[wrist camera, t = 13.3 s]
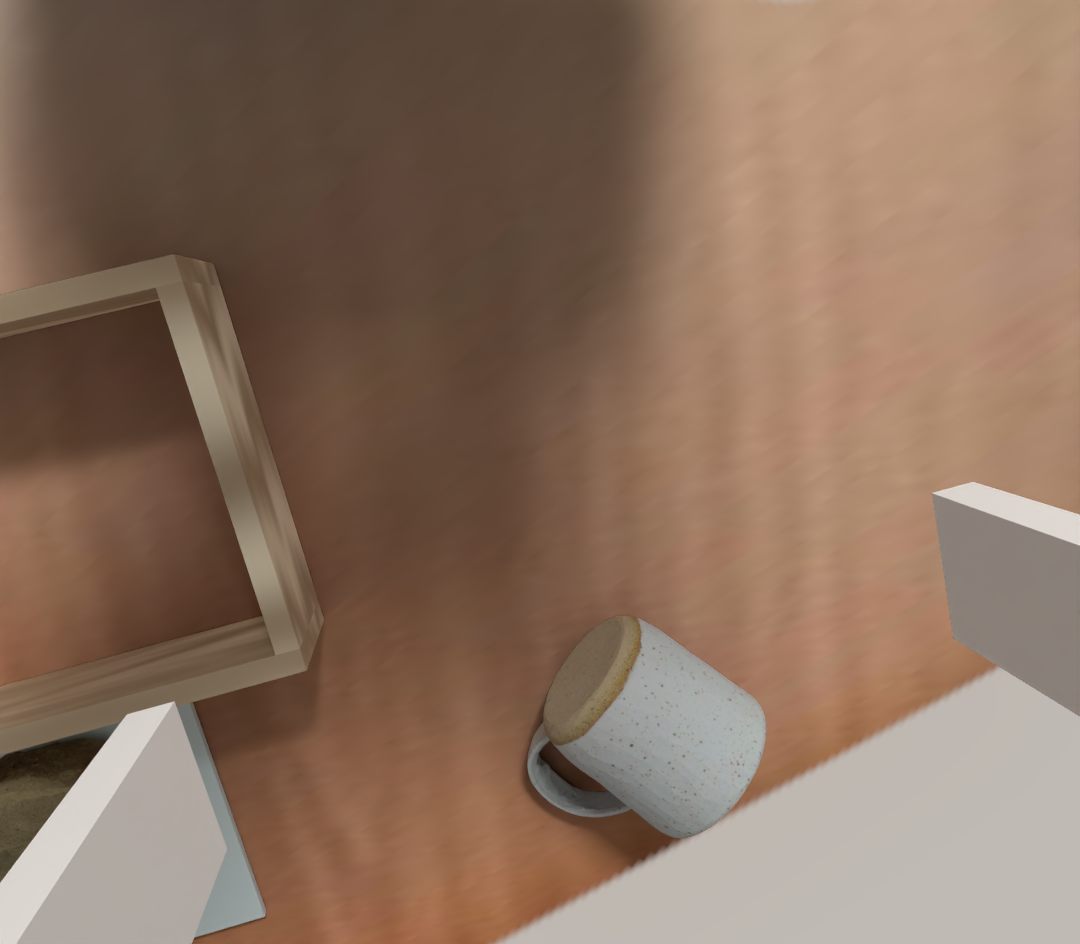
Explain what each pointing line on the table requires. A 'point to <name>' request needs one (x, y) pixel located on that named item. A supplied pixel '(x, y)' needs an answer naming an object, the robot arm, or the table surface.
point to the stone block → (37, 790)
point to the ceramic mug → (647, 731)
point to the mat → (235, 880)
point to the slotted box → (249, 493)
